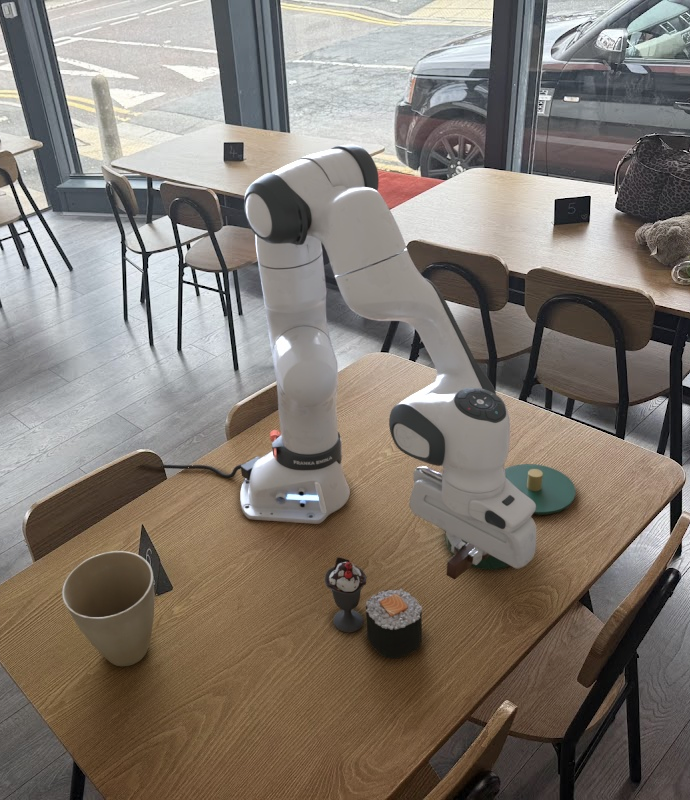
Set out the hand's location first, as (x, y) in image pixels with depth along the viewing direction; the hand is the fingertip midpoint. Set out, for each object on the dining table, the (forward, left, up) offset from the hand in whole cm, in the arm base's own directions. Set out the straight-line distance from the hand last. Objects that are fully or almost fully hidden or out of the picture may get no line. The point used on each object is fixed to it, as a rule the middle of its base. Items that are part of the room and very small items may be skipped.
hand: (466, 556), depth 125 cm
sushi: (-12, -6, -12) cm, 18 cm away
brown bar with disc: (0, 0, -2) cm, 2 cm away
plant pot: (-57, -6, -12) cm, 59 cm away
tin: (+7, +15, -12) cm, 20 cm away
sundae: (-19, -2, -12) cm, 23 cm away
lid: (+19, +29, -11) cm, 36 cm away
